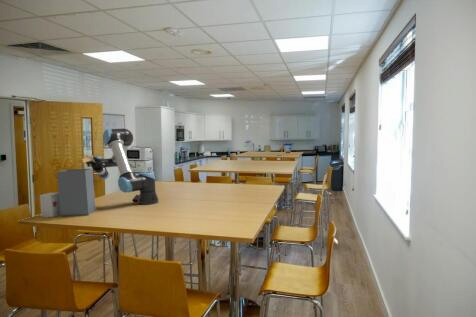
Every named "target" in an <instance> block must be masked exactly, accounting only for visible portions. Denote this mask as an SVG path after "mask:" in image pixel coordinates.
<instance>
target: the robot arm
mask: <svg viewBox="0 0 476 317" xmlns="http://www.w3.org/2000/svg"><path fill="white" fill-rule="evenodd" d="M133 141H134V135H133V133H132V131H131V130H129V129H128V128H107V129H105V130H104V132H103V135H102V142H103V143H104V145H107V146H108V148H109V149H111V152H112V155H111V157H110V158H103V157H102V156H100V155H99V156H96V157H95V156H94V154H92V153H91V154H90V156H89V155H88V154H85V157H84V158H88V157H91V159H92V160H93V161H88V162H84V163H85V164H86V166H87V168H89V167H90V168H91V169H93V171H94V172H95V173H96V174H97V175H98V176H99V178H100V179H102V180H107V179H108V178H109V176H110V173H109V171H108V170H107V168H113V167H116V168H117V169H118V171H119V174H120V175H119V178H118V180H117V184H118V187H119V190H120V191H121V192H122V193H132V192H138V191H139V197H138V199H137V204H138V205H145V206H146V205H154V204H158V203H159V197H158V194H157V192H156V178H155V177H156V176H155V174H154V173H152V172H139V173H138V174H137V175H136V172H135V171H134V170H132V167H131V165H130V161H129V158H128V156H127V153H126V151H127V150H128V148H129V146H131V145H132V143H133Z"/></svg>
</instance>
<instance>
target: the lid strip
mask: <svg viewBox="0 0 476 317" xmlns="http://www.w3.org/2000/svg"><path fill="white" fill-rule="evenodd" d="M88 161H93V160H92V159H91V156H89V157H88V158H85V157H83V158H79V159H78V160H77V162H78V164H84V163H85V162H88ZM93 162H94V161H93Z"/></svg>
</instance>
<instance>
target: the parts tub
mask: <svg viewBox="0 0 476 317" xmlns="http://www.w3.org/2000/svg"><path fill="white" fill-rule="evenodd" d="M93 171H94V170H93V168H75V169H73V168H71V169H64V170H58V171H56V175H57V176H56V177H57V188H58V193H59V203H60V215H59V216H60V217H63V218H64V217H79V216H80V217H81V216H82V217H83V216H90V215H91V214H93V213H94V212H96V200H95V196H96V195H95V186H94V184H95V183H94V172H93ZM89 214H90V215H89Z"/></svg>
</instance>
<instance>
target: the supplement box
mask: <svg viewBox="0 0 476 317" xmlns="http://www.w3.org/2000/svg"><path fill="white" fill-rule="evenodd" d="M39 201H40V216H41V218H54V217H57V216H61V215H60V203H59V192H48V193H44V194H40V195H39Z"/></svg>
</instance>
